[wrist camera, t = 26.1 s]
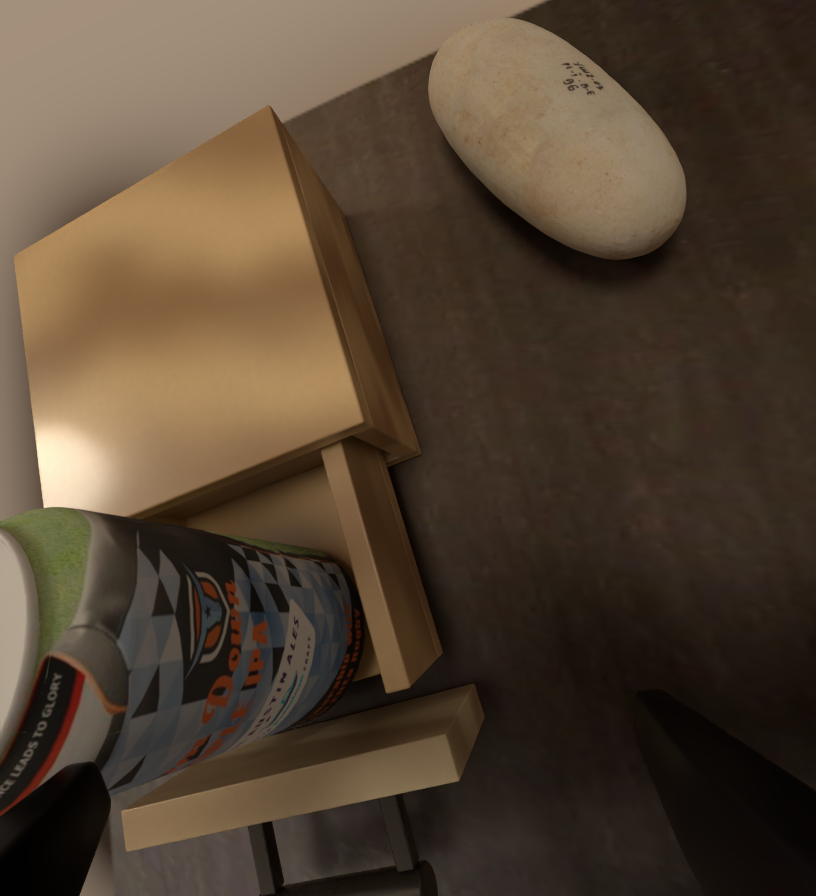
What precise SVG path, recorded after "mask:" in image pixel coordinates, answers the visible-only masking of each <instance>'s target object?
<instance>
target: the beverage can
mask: <svg viewBox="0 0 816 896" xmlns="http://www.w3.org/2000/svg"><path fill="white" fill-rule="evenodd" d="M364 639H365V620H364V614H363V608H362V604H361V600H360V597H359V594H358V591H357V589H356V587H355V585H354V583H353V581H352V579H351V578H350V576H349V575H348V574H347V572H346V571H345V570H344V568H343V567H342V566H341V565H340V564H338V563H337V562H336V561H335V560H334V559H333V558H331V557H329V556H328V555H326V554H325V553H323V552H320V551H317V550H314V549H312V548H306V547H300V546H294V545H288V544H282V543H276V542H270V541H265V540H259V539H253V538H247V537H241V536H235V535H229V534H223V533H217V532H211V531H206V530H200V529H194V528H188V527H182V526H176V525H170V524H164V523H158V522H152V521H147V520H141V519H135V518H129V517H123V516H117V515H111V514H105V513H99V512H93V511H88V510H82V509H75V508H66V507H48V508H42V509H35V510H31V511H26V512H23V513H20V514H18V515H15V516H13V517H10V518H8V519H5V520H3V521H0V816H1V815H2V814H4V813H5V812H6V811H8V810H9V809H10V808H12V807H13V806H14V805H15V804H17V803H18V802H19V801H21V800H22V799H23V798H25V797H26V796H27V795H29V794H30V793H31V792H32V791H34V790H35V789H36V788H38V787H39V786H40V785H42V784H43V783H44V782H46V781H47V780H48V779H49V778H51V777H52V776H53V775H55V774H56V773H57V772H59V771H60V770H61V769H63V768H64V767H65V766H67V765H70V764H73V763H81V762H89V761H91V762H95V763H96V764H97V765H98V766H99V769H100V771H101V774H102V776H103V779H104V782H105V784H106V787H107V790H108V792H109V795H110V796H113V795H115V794H118V793H121V792H123V791H126V790H129V789H131V788H134V787H136V786H139V785H142V784H144V783H147V782H150V781H152V780H155V779H157V778H160V777H163V776H165V775H168V774H170V773H173V772H176V771H178V770H181V769H184V768H186V767H189V766H191V765H194V764H197V763H199V762H202V761H204V760H207V759H210V758H212V757H215V756H218V755H220V754H223V753H225V752H228V751H231V750H233V749H236V748H239V747H241V746H244V745H246V744H249V743H252V742H254V741H257V740H259V739H262V738H265V737H267V736H270V735H273V734H275V733H278V732H280V731H283V730H286V729H288V728H291V727H293V726H296V725H299V724H301V723H304V722H307V721H309V720H311V719H314V718H316V717H319V716H320V715H322V714H323V713H325V712H326V711H328V710H329V709H330V708H332V707H333V706H334V705H335V704H336V703H337V702H338V701H339V700H340V699H341V698H342V696H343V695H344V693H345V692H346V690H347V689H348V688H349V686H350V685H351V683H352V681H353V679H354V676H355V674H356V672H357V670H358V667H359V664H360V660H361V657H362V653H363V646H364Z"/></svg>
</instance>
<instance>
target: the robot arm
mask: <svg viewBox="0 0 816 896" xmlns="http://www.w3.org/2000/svg"><path fill="white" fill-rule="evenodd" d="M634 730H635V737H636V741H637V744H638V747H639V750H640V752H641V755H642V757H643V759H644V762H645V764H646V767H647V769H648V771H649V774H650V776H651V779H652V781H653V783H654V786H655V788H656V790H657V793H658V795H659V798H660V800H661V802H662V805H663V807H664V810H665V812H666V814H667V817H668V819H669V821H670V824H671V826H672V829H673V831H674V833H675V836H676V838H677V840H678V843H679V845H680V847H681V849H682V852H683V854H684V856H685V858H686V860H687V862H688V864H689V866H690V868H691V870H692V872H693V874H694V876H695V878H696V880H697V881H698V883H699V885H700V887H701V889H702V891H703V893H704V895H705V896H816V791H815V790H814V789H812V788H811V787H809V786H808V785H806V784H805V783H803V782H802V781H800V780H799V779H797V778H796V777H794V776H793V775H791V774H790V773H788V772H787V771H785V770H784V769H782V768H781V767H779V766H778V765H776V764H774V763H773V762H771V761H770V760H768V759H767V758H765V757H764V756H762V755H761V754H759V753H758V752H756V751H755V750H753V749H752V748H750V747H749V746H747V745H746V744H744V743H743V742H741V741H740V740H738V739H737V738H735V737H734V736H732V735H731V734H729V733H728V732H726V731H725V730H723V729H722V728H720V727H719V726H717V725H716V724H714V723H713V722H711V721H710V720H708V719H707V718H705V717H704V716H702V715H701V714H699V713H698V712H696V711H695V710H693V709H692V708H690V707H688V706H687V705H685V704H684V703H682V702H681V701H679V700H678V699H676V698H675V697H673V696H672V695H670V694H669V693H667V692H666V691H664V690H662V689H659V688H654V689H646V690H639V691H637V692H636V693H635V694H634ZM110 809H111V798H110V795H109V792H108V790H107V787H106V784H105V782H104V779H103V776H102V774H101V771H100V769H99V766H98V765H97V764H96V763H95V762H91V761H89V762H81V763H73V764H70V765H67V766H65V767H64V768H63V769H61V770H60V771H59V772H57V773H56V774H55V775H53V776H52V777H51V778H49V779H48V780H47V781H46V782H44V783H43V784H42V785H40V786H39V787H38V788H36V789H35V790H34V791H32V792H31V793H30V794H29V795H27V796H26V797H25V798H23V799H22V800H21V801H19V802H18V803H17V804H15V805H14V806H13V807H12V808H10V809H9V810H8V811H6V812H5V813H4V814H2V815H1V816H0V896H79V895H80V893H81V890H82V887H83V884H84V882H85V879H86V876H87V874H88V871H89V868H90V866H91V863H92V860H93V858H94V855H95V852H96V849H97V847H98V844H99V841H100V839H101V836H102V833H103V830H104V828H105V825H106V822H107V820H108V817H109V813H110Z"/></svg>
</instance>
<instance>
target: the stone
mask: <svg viewBox="0 0 816 896" xmlns="http://www.w3.org/2000/svg"><path fill="white" fill-rule="evenodd" d="M428 93H429V101H430V105H431V109H432V112H433V115H434V117H435V119H436V121H437V123H438V125H439V127H440V128H441V130H442V132H443V134H444V135H445V137H446V139H447V141H448V143H449V144H450V145H451V147H452V148H453V149H454V151H455V152H456V153H457V155H458V156H459V157H460V158H461V160H462V161H463V162H464V164H465V165H466V166H467V167H468V169H469V170H470V171H471V172H472V173H473V174H474V175H475V176H476V177H477V178H478V179H479V180H480V181H481V182H482V183H483V184H484V185H485V186H486V187H487V188H488V189H489V190H490V191H491V192H492V193H493V194H494V195H495V196H496V197H497V198H498V199H499V200H500V201H501V202H502V203H504V204H505V205H506V206H507V207H509V208H510V209H511V210H513V211H514V212H515V213H517V214H518V215H519V216H521V217H522V218H523V219H525V220H526V221H527V222H529V223H530V224H531V225H533V226H534V227H536V228H537V229H538V230H540V231H541V232H543V233H544V234H546V235H547V236H549V237H551V238H553V239H554V240H556V241H558V242H560V243H562V244H564V245H566V246H568V247H570V248H572V249H575V250H577V251H580V252H583V253H586V254H589V255H592V256H595V257H599V258H603V259H611V260H621V259H630V258H634V257H638V256H642V255H645V254H648V253H650V252H652V251H654V250H656V249H657V248H659V247H660V246H661V245H662V244H663V243H664V242H666V241H667V240H668V239H669V238H670V237H671V236H672V234H673V233H674V232H675V230H676V229H677V227H678V226H679V224H680V222H681V220H682V217H683V214H684V210H685V205H686V182H685V176H684V172H683V169H682V166H681V164H680V162H679V160H678V157H677V155H676V153H675V151H674V150H673V148H672V147H671V145H670V143H669V142H668V140H667V138H666V137H665V135H664V133H663V132H662V131H661V129H660V128H659V127H658V126H657V124H656V123H655V122H654V121H653V120H652V118H651V117H650V116H649V115H648V114H647V113H646V111H645V110H644V109H643V108H642V107H641V106H640V105H639V104H638V103H637V102H636V101H635V100H634V99H633V98H632V97H631V96H630V95H629V94H628V93H627V92H626V91H625V90H624V89H623V88H622V87H621V86H620V85H619V84H618V83H617V82H616V81H615V80H613V79H612V78H611V77H610V76H609V75H608V74H607V73H606V72H605V71H604V70H602V69H601V68H600V67H599V66H598V65H596V64H595V63H594V62H593V61H592V60H590V59H589V58H588V57H587V56H585V55H584V54H583V53H581V52H580V51H578V50H577V49H576V48H574V47H573V46H572V45H570V44H569V43H567V42H566V41H564V40H563V39H561V38H560V37H558V36H556V35H554V34H553V33H551V32H549V31H547V30H545V29H543V28H541V27H538V26H536V25H534V24H532V23H529V22H526V21H523V20H518V19H514V18H502V19H497V20H494V21H488V22H482V23H478V24H473V25H470V26H468V27H465V28H463V29H461V30H459V31H458V32H456V33H455V34H453V35H452V36H451V37H450V38H448V39H447V41H446V42H445V43H444V44H443V45H442V46H441V48H440V49H439V51H438V52H437V54H436V56H435V58H434V61H433V63H432V67H431V70H430V76H429V87H428Z"/></svg>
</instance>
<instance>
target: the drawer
mask: <svg viewBox="0 0 816 896" xmlns="http://www.w3.org/2000/svg"><path fill="white" fill-rule="evenodd" d="M141 520H147V521H152V522H158V523H164V524H170V525H176V526H182V527H188V528H194V529H200V530H206V531H211V532H217V533H223V534H229V535H235V536H241V537H247V538H253V539H259V540H265V541H270V542H276V543H282V544H288V545H294V546H300V547H306V548H312V549H314V550H317V551H320V552H323V553H325V554H326V555H328V556H329V557H331V558H333V559H334V560H335V561H336V562H337V563H338V564H340V565H341V566H342V567H343V568H344V570H345V571H346V572H347V574H348V575H349V576H350V578H351V579H352V581H353V583H354V585H355V587H356V589H357V591H358V594H359V597H360V600H361V604H362V608H363V614H364V620H365V639H364V646H363V653H362V657H361V660H360V664H359V667H358V670H357V672H356V674H355V676H354V679H353V681H352V682H354V681H357V680H361V679H365V678H368V677H372V676H376V675H379V674H381V676H382V680H383V684H384V687H385V691H386V693H392V692H396V691H400V690H404V689H408V688H410V687H411V686H412V685H413V684H414V683H415V682H416V680H417V679H418V678H419V677H420V676H421V675H422V674H423V673H424V672H425V671H426V670H427V669H428V668H429V667H430V666H431V665H432V664H433V663H434V662H435V661H436V660H437V658H439V657H440V655H441V654H442V653H443V651H442V647H441V644H440V641H439V638H438V634H437V631H436V628H435V624H434V621H433V618H432V615H431V611H430V608H429V605H428V601H427V598H426V595H425V591H424V588H423V585H422V582H421V578H420V575H419V572H418V568H417V565H416V562H415V558H414V555H413V552H412V549H411V545H410V542H409V539H408V535H407V532H406V529H405V526H404V522H403V519H402V516H401V512H400V509H399V506H398V502H397V499H396V496H395V493H394V489H393V486H392V483H391V479H390V476H389V473H388V469H387V466H386V463H385V460H384V456H383V453H382V450H381V449H380V448H378V447H376V446H373V445H371V444H369V443H367V442H365V441H362V440H360V439H358V438H356V437H354V436H352V435H351V436H349V437H346V438H344V439H341V440H339V441H336V442H334V443H331V444H329V445H326V446H324V447H321V448H319V449H316V450H314V451H311V452H309V453H306V454H304V455H301V456H299V457H296V458H294V459H291V460H289V461H286V462H284V463H281V464H279V465H276V466H274V467H271V468H269V469H266V470H264V471H261V472H259V473H256V474H253V475H251V476H248V477H246V478H243V479H241V480H238V481H236V482H233V483H231V484H228V485H226V486H223V487H221V488H218V489H216V490H213V491H211V492H208V493H206V494H203V495H201V496H198V497H196V498H193V499H191V500H188V501H186V502H183V503H181V504H178V505H176V506H173V507H171V508H168V509H166V510H163V511H161V512H158V513H156V514H153V515H151V516H148V517H146V518H143V519H141ZM484 718H485V716H484V713H483V710H482V706H481V703H480V700H479V697H478V694H477V690H476V687H475V684H469V685H466V686H462V687H458V688H454V689H450V690H446V691H442V692H438V693H435V694H431V695H427V696H423V697H419V698H415V699H411V700H407V701H404V702H400V703H396V704H392V705H388V706H384V707H380V708H376V709H373V710H369V711H365V712H361V713H357V714H353V715H349V716H345V717H341V718H338V719H334V720H330V721H326V722H322V723H318V724H314V725H310V726H307V727H303V728H299V729H295V730H291V731H287V732H283V733H279V734H276V735H272V736H268V737H265V738H262V739H259V740H257V741H254V742H252V743H249V744H246V745H244V746H241V747H239V748H236V749H233V750H231V751H228V752H225V753H223V754H220V755H218V756H215V757H212V758H210V759H207V760H204V761H202V762H199V763H197V764H194V765H192V766H191V767H189V768H188V769H186V770H184V771H183V772H181V773H180V774H178V775H177V776H175V777H173V778H172V779H170V780H169V781H167V782H166V783H164V784H163V785H161V786H159V787H158V788H156V789H155V790H153V791H152V792H150V793H148V794H147V795H145V796H144V797H142V798H141V799H139V800H138V801H136V802H134V803H133V804H131V805H130V806H128V807H127V808H125V809H123V810H122V811H121V816H122V823H123V830H124V837H125V845H126V851H127V852H128V851H133V850H138V849H142V848H147V847H152V846H156V845H161V844H166V843H171V842H175V841H180V840H185V839H189V838H194V837H199V836H203V835H208V834H213V833H218V832H222V831H227V830H232V829H236V828H241V827H246V826H248V830H249V836H250V841H251V846H252V851H253V856H254V861H255V867H256V872H257V877H258V882H259V887H260V893H261V894H260V895H259V896H438V889H437V882H436V878H435V874H434V871H433V868H432V866H431V864H430V863H429V862H428V861H426V860H423V861H418V859H419V856H418V852H417V849H416V845H415V841H414V837H413V834H412V830H411V826H410V822H409V819H408V815H407V811H406V807H405V804H404V800H403V796H402V793H406V792H410V791H415V790H420V789H424V788H429V787H434V786H438V785H443V784H448V783H453V782H457V781H459V780H460V778H461V776H462V773H463V771H464V768H465V766H466V763H467V761H468V758H469V756H470V753H471V751H472V748H473V746H474V743H475V741H476V738H477V736H478V733H479V731H480V728H481V726H482V723H483V721H484ZM377 798H379V801H380V805H381V809H382V813H383V817H384V821H385V825H386V829H387V833H388V836H389V840H390V844H391V848H392V852H393V856H394V860H395V864H396V865H395V866H389V867H384V868H378V869H372V870H367V871H361V872H355V873H350V874H344V875H339V876H333V877H327V878H322V879H316V880H310V881H305V882H299V883H294V884H288V885H283V883H284V878H283V873H282V868H281V864H280V859H279V854H278V849H277V844H276V839H275V834H274V829H273V824H272V821H274V820H279V819H283V818H288V817H293V816H297V815H302V814H307V813H312V812H316V811H321V810H326V809H330V808H335V807H340V806H344V805H349V804H354V803H359V802H363V801H368V800H373V799H377Z"/></svg>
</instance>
